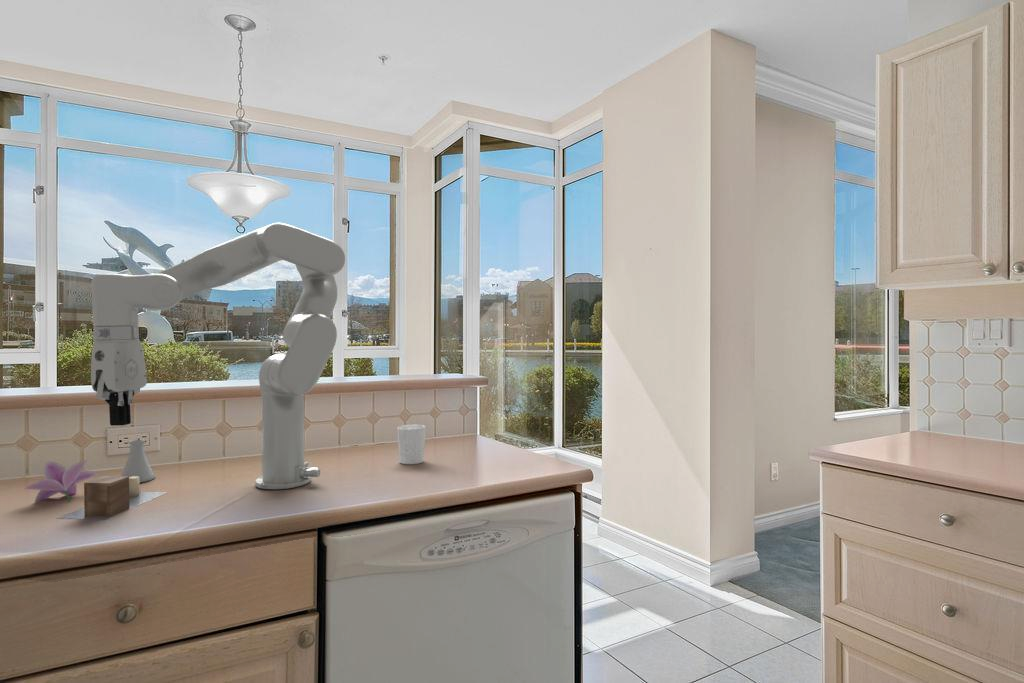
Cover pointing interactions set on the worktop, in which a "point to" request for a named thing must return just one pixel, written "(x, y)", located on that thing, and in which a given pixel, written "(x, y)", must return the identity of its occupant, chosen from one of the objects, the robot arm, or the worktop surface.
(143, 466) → the flask
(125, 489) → the wooden grain cube
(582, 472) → the worktop surface
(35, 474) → the worktop surface
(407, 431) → the white cup
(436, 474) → the worktop surface
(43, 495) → the lily
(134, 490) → the slate stand
